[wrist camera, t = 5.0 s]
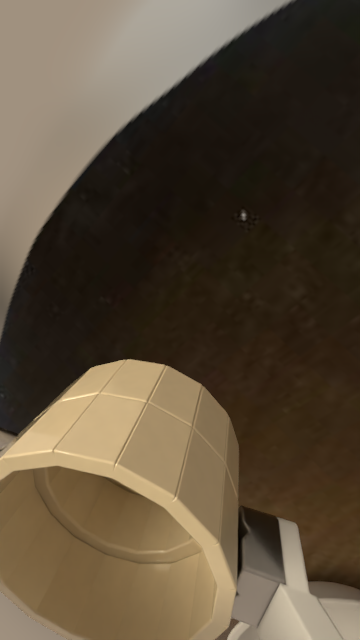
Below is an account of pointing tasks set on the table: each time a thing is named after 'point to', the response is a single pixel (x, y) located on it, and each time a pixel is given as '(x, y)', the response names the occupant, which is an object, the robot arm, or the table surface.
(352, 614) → the dish
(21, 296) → the table surface
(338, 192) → the table surface
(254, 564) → the robot arm
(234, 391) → the table surface
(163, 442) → the beige cup
